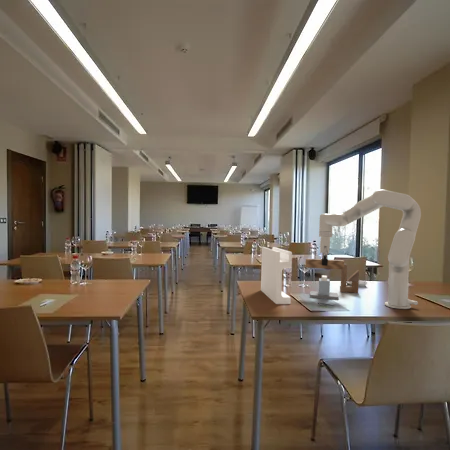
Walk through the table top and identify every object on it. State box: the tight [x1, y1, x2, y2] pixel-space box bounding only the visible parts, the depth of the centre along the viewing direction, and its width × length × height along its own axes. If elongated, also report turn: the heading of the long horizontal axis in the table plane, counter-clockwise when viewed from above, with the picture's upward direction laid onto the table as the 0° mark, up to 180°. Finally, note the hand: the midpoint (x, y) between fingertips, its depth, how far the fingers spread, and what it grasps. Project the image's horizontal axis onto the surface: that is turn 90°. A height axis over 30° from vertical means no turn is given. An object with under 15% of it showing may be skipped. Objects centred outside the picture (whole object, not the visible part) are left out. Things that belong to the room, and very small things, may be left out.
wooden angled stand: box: [339, 263, 360, 294], centre depth 219 cm, size 4×11×18 cm, turn 82°
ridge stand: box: [309, 274, 340, 301], centre depth 205 cm, size 16×12×12 cm
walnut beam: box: [305, 257, 345, 270], centre depth 204 cm, size 22×4×5 cm, turn 75°
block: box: [260, 246, 293, 305], centre depth 201 cm, size 35×8×28 cm, turn 8°
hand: (324, 264), depth 204 cm, fingers closed on walnut beam, 4 cm apart
